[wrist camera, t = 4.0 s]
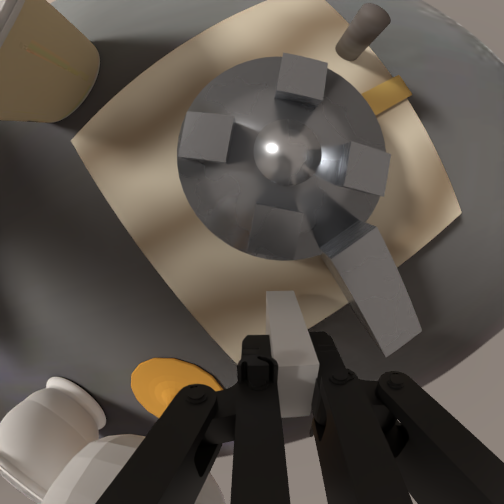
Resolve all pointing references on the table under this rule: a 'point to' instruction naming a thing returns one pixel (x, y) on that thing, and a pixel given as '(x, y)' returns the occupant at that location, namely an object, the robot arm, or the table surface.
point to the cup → (130, 436)
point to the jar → (47, 435)
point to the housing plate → (177, 206)
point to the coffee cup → (42, 63)
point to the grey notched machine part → (297, 179)
